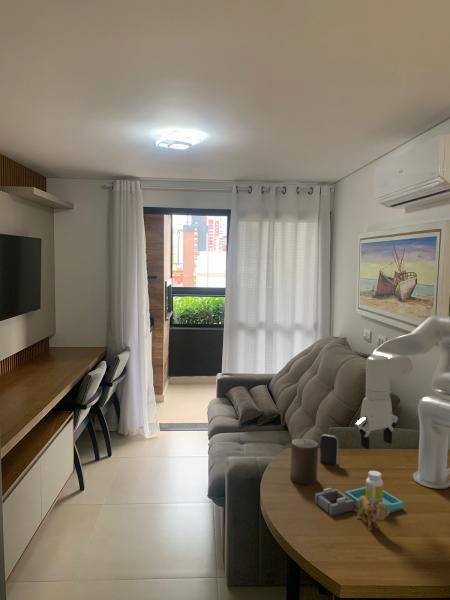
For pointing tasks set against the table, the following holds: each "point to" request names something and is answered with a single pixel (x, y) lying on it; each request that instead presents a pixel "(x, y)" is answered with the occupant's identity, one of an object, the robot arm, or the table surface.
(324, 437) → the battery charger
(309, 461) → the pillar candle
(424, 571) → the table surface
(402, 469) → the table surface
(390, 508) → the tray
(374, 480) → the supplement bottle
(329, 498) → the clip holder
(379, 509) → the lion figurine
